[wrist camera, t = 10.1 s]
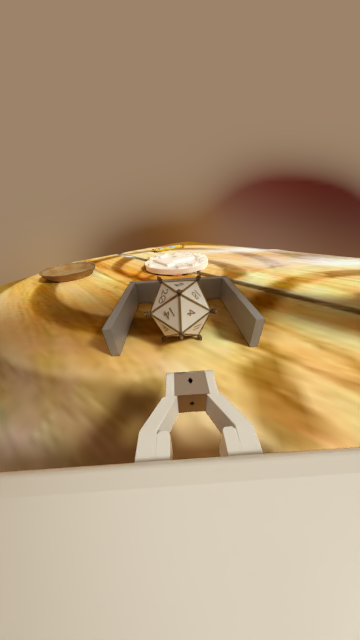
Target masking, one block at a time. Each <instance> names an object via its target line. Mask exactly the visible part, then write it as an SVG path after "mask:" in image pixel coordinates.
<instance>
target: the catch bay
mask: <svg viewBox="0 0 360 640" xmlns="http://www.w3.org/2000/svg"><path fill="white" fill-rule="evenodd" d="M190 280H196V278H186V279H170V280H162V281H163V282H169V281H190ZM198 283H199V285H200V287H201V289H202V291H203V294H204V296H205V298H206V299H213V298H221V300H222V301H223V303H224V305H225V306H226V308H227V310H228V311H229V313H230V315H231V316H232V318H233V320H234V321H235V323H236V325H237V326H238V328H239V330H240V332H241V333H242V335H243V337H244V338H245V340H246V342H247V343H248V345H249V347H253V346H258V343H259V339H260V336H261V332H262V329H263V325H264V322H265V318H264V317H263V316H262V315H261V314H260V313H259V312H258V310H257V309H256V308H255V307H254V306H253V305H252V304H251V303H250V302H249V300H248V299H247V298H246V297H245V296H244V295H243V294H242V293H241V292H240V290H239V289H238V288H237V287H236V286H235V285H234V284H233V283H232V282H231V281H230V279H229V278H228V277H227V276H218V277H202V278H200V280H199V281H198ZM159 286H160V282H159V281H157V280H153V281H137V282H130V283H129V285H128V287H127V288H126V290H125V292H124V293H123V295H122V297H121V298H120V300H119V302H118V303H117V305H116V307H115V308H114V310H113V312H112V313H111V315H110V317H109V318H108V320H107V322H106V323H105V325H104V327H103V328H102V332H103V335H104V338H105V340H106V343H107V345H108V348H109V350H110V353H111V356H120V354H121V351H122V348H123V346H124V343H125V340H126V337H127V335H128V332H129V329H130V326H131V323H132V321H133V318H134V315H135V312H136V310H137V307H138V304H139V303H150V302H154V300H155V297H156V294H157V292H158V289H159Z"/></svg>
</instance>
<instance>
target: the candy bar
mask: <svg viewBox="0 0 360 640" xmlns="http://www.w3.org/2000/svg"><path fill="white" fill-rule="evenodd" d="M179 248H184V245H181V244H180V245H175V246H170V247H162V248H157V249H155V251H157V252H163V251H168V250H174V249H179ZM152 250H153V249H152Z"/></svg>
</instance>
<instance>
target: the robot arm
mask: <svg viewBox="0 0 360 640" xmlns="http://www.w3.org/2000/svg"><path fill="white" fill-rule="evenodd" d="M197 411H206V413H207V414H208V416H209V417H210V419H211V420H212V421H213V423H214V424H215V426H216V427H217V428H218V430H219V431H220V432H221V434H222V436H221V440H220V445H219V453H220V457H208V458H194V459H180V460H173V449H172V443H171V437H170V431H171V429H172V427H173V425H174V423H175V421H176V419H177V417H178V414H179V413H184V412H197ZM0 640H360V447H351V448H336V449H322V450H308V451H294V452H280V453H265V454H264V453H263V450H262V448H261V445H260V443H259V440H258V437H257V435H256V432H255V430H254V427H253V424H252V423H251V422H250V421H249V420H248V419H247V418H246V417H245V416H244V415H243V414H242V413H241V412H240V411H239V410H238V409H237V408H236V407H235V406H234V405H233V404H232V403H231V402H230V401H229V400H228V399H227V398H226V397H225V396H224V395H223V394H221V393H219V392H218V389H217V385H216V381H215V377H214V374H213V371H212V370H207V371H192V372H177V373H166V389H165V397H162V399H161V400H160V402H159V403H158V405H157V406H156V408H155V409H154V411H153V412H152V414H151V415H150V417H149V418H148V420H147V421H146V422H145V424H144V425H143V427H142V428H141V430H140V431H139V436H138V443H137V449H136V456H135V462H134V463H123V464H109V465H95V466H81V467H67V468H53V469H38V470H24V471H10V472H0Z"/></svg>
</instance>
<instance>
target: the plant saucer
mask: <svg viewBox="0 0 360 640" xmlns="http://www.w3.org/2000/svg"><path fill="white" fill-rule="evenodd" d="M95 266H96V264H95V263H92V262H76V263H68V264H62V265H57V266H53V267H50V268H47V269H44V270H42V271H40V272H39V275H41V276H42V277H44V278H46V279H48V280H50V281H53V282H67V281H73V280H78V279H81V278H84V277H87V276H89V275H90V274H91V273H92V272H93V270H94V268H95Z"/></svg>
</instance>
